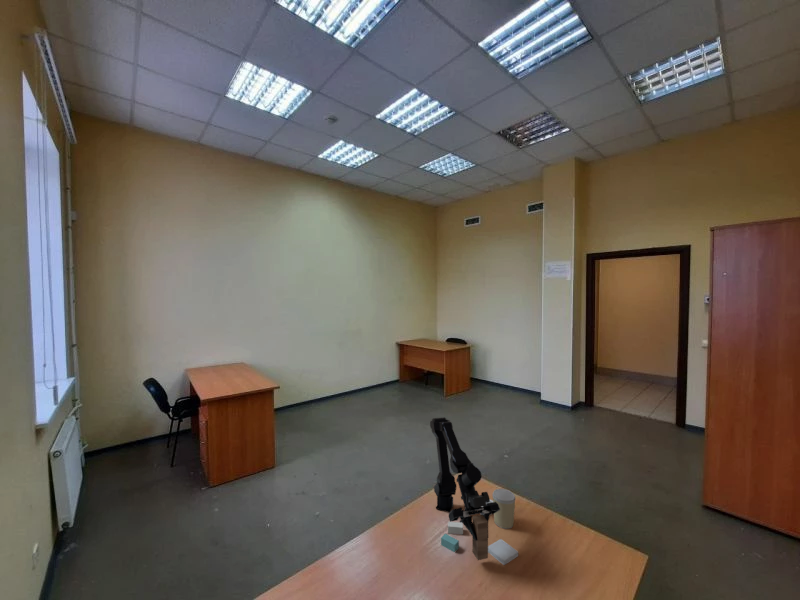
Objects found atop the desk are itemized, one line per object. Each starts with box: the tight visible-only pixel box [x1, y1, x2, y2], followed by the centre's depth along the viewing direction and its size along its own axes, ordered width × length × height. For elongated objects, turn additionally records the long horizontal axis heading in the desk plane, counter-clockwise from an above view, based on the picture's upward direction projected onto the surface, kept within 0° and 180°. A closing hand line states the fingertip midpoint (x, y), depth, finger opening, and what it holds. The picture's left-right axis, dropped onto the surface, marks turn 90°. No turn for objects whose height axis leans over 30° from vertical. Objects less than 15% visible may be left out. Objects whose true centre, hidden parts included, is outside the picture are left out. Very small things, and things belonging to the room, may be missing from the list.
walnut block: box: [471, 514, 489, 561], centre depth 118 cm, size 4×4×13 cm
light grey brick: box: [447, 521, 464, 535], centre depth 135 cm, size 6×3×3 cm, turn 83°
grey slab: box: [488, 538, 519, 566], centre depth 123 cm, size 8×8×2 cm
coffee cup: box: [492, 488, 516, 530], centre depth 140 cm, size 9×9×12 cm
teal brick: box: [440, 533, 460, 553], centre depth 127 cm, size 6×3×3 cm, turn 50°
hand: (482, 539), depth 117 cm, fingers closed on walnut block, 4 cm apart
